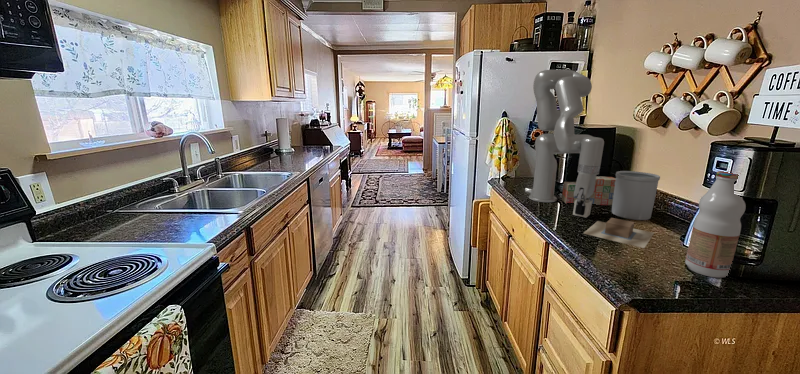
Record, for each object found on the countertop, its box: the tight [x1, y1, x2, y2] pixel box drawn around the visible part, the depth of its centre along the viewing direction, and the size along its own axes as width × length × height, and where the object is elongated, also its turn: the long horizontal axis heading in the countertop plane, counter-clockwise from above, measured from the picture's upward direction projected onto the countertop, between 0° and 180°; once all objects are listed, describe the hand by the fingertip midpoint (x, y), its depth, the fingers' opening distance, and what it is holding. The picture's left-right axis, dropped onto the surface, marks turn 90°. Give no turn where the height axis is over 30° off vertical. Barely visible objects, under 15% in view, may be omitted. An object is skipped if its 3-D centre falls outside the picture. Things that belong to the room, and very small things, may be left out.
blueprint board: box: [583, 220, 655, 249], centre depth 120 cm, size 18×18×1 cm
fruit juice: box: [684, 170, 747, 278], centre depth 92 cm, size 9×9×28 cm
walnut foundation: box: [605, 217, 635, 238], centre depth 119 cm, size 7×7×4 cm
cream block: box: [572, 199, 592, 218], centre depth 137 cm, size 5×5×6 cm
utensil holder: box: [611, 170, 661, 221], centre depth 140 cm, size 15×15×18 cm
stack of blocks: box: [561, 175, 616, 206], centre depth 158 cm, size 21×6×12 cm, turn 83°
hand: (581, 212), depth 138 cm, fingers closed on cream block, 4 cm apart
